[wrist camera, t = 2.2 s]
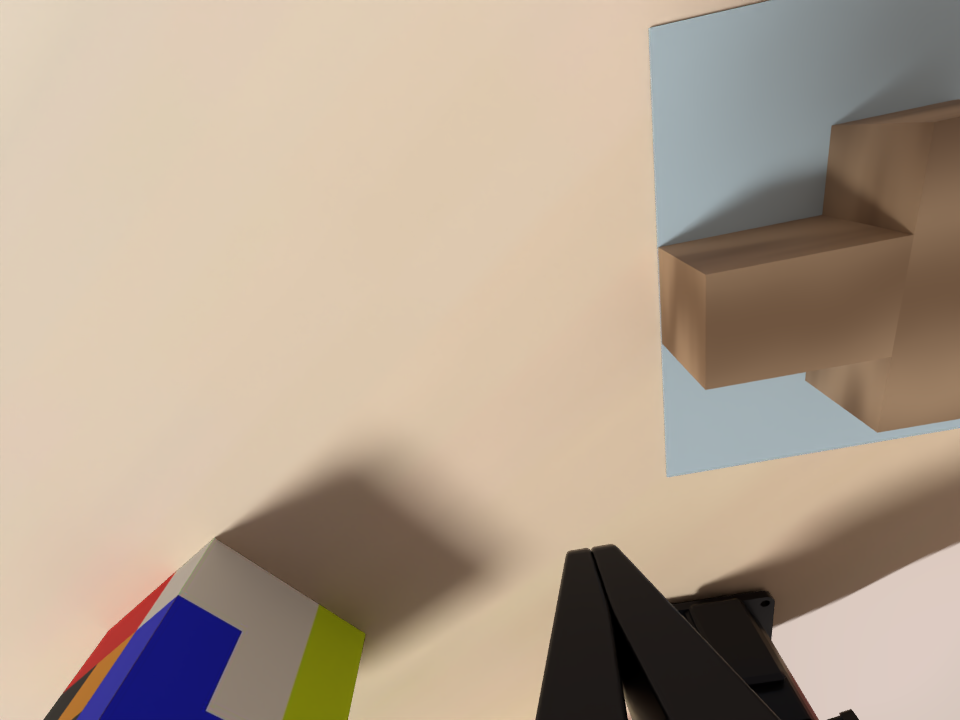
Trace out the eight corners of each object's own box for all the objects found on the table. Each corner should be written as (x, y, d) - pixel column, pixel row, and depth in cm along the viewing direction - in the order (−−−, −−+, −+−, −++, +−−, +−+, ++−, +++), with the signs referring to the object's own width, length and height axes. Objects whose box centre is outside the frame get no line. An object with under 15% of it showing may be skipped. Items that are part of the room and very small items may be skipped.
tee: (902, 363, 20) (996, 412, 17) (664, 405, 21) (705, 461, 17) (953, 99, 16) (1095, 88, 12) (654, 162, 17) (706, 169, 13)
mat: (1164, 391, 21) (1167, 393, 21) (666, 476, 23) (667, 477, 22) (1416, -148, 14) (1424, -150, 14) (648, 28, 15) (649, 28, 15)
